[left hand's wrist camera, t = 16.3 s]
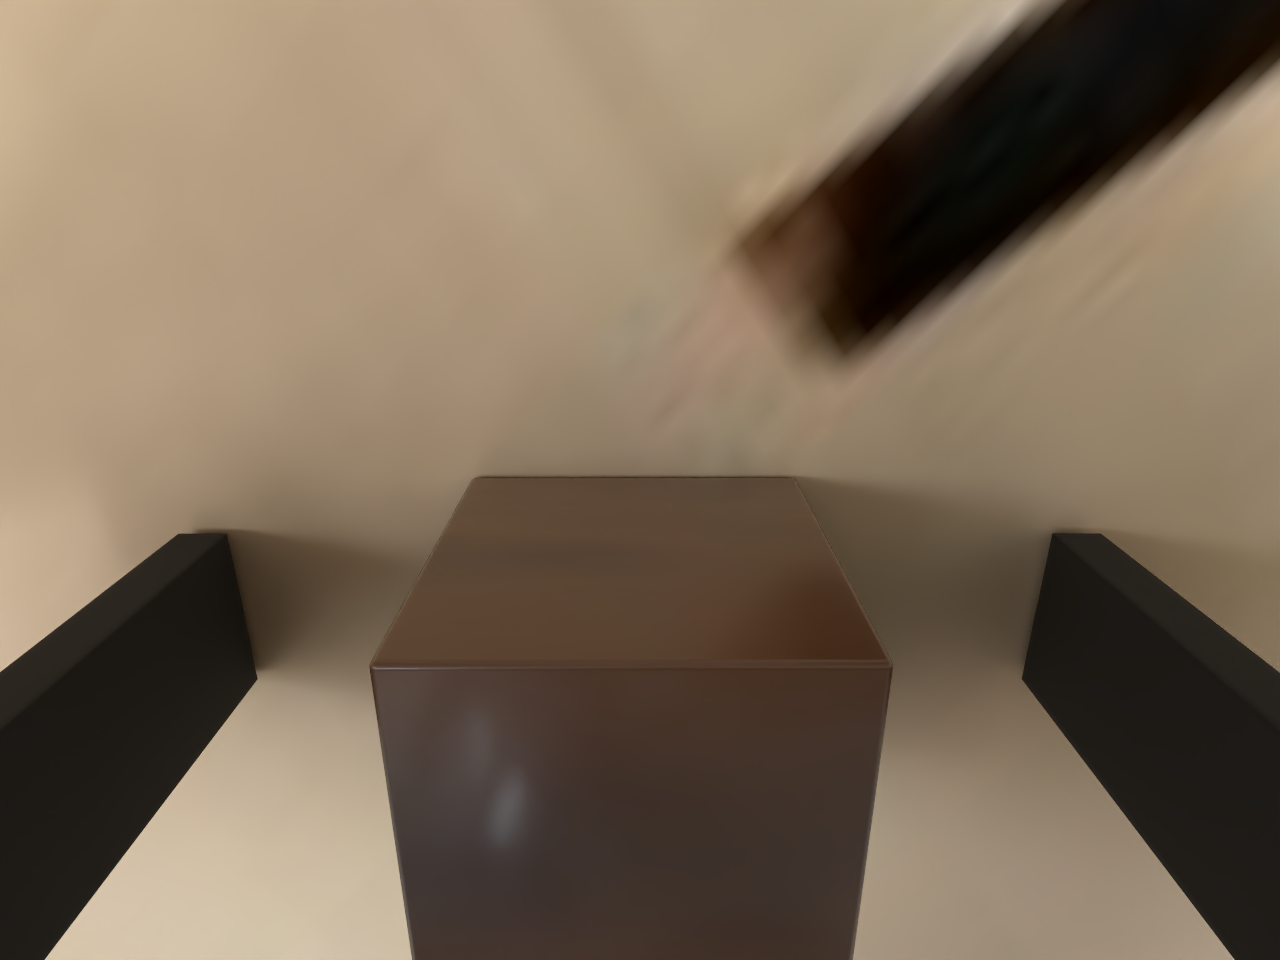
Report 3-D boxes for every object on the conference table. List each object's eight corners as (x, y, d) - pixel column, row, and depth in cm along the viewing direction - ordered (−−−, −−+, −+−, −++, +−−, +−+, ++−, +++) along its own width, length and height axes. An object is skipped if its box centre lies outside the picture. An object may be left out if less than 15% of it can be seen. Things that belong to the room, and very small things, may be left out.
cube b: (775, 740, 14) (846, 1025, 9) (492, 740, 14) (419, 1026, 9) (795, 476, 12) (896, 663, 7) (471, 476, 12) (365, 663, 7)
